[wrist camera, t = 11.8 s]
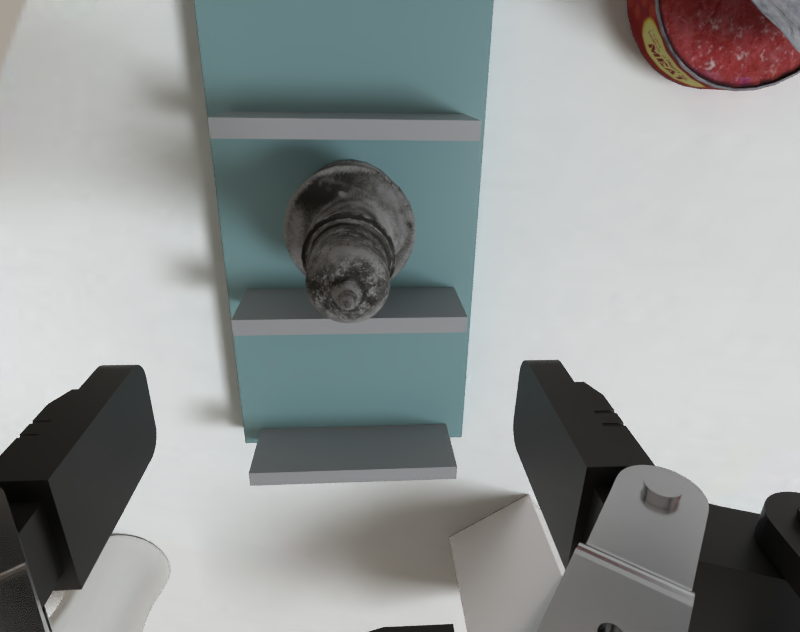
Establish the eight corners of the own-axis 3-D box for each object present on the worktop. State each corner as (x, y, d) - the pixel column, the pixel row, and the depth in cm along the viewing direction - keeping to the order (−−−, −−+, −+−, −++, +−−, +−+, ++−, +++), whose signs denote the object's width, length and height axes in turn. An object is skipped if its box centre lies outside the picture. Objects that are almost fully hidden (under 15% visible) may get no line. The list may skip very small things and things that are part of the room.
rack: (189, -120, 23) (142, -173, 18) (494, -107, 24) (529, -154, 19) (250, 428, 34) (231, 489, 29) (457, 422, 35) (473, 480, 30)
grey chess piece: (387, 282, 30) (405, 406, 19) (278, 249, 28) (229, 360, 17) (425, 176, 27) (471, 246, 16) (310, 135, 26) (276, 181, 15)
